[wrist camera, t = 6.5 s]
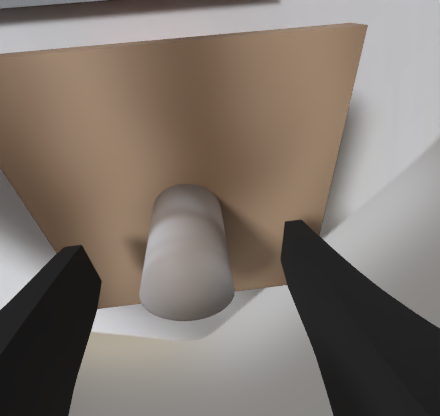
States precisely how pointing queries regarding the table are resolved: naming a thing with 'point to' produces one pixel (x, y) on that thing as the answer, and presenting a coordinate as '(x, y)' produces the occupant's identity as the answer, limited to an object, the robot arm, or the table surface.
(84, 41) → the table surface
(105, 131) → the cover board
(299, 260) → the robot arm
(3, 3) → the mat
